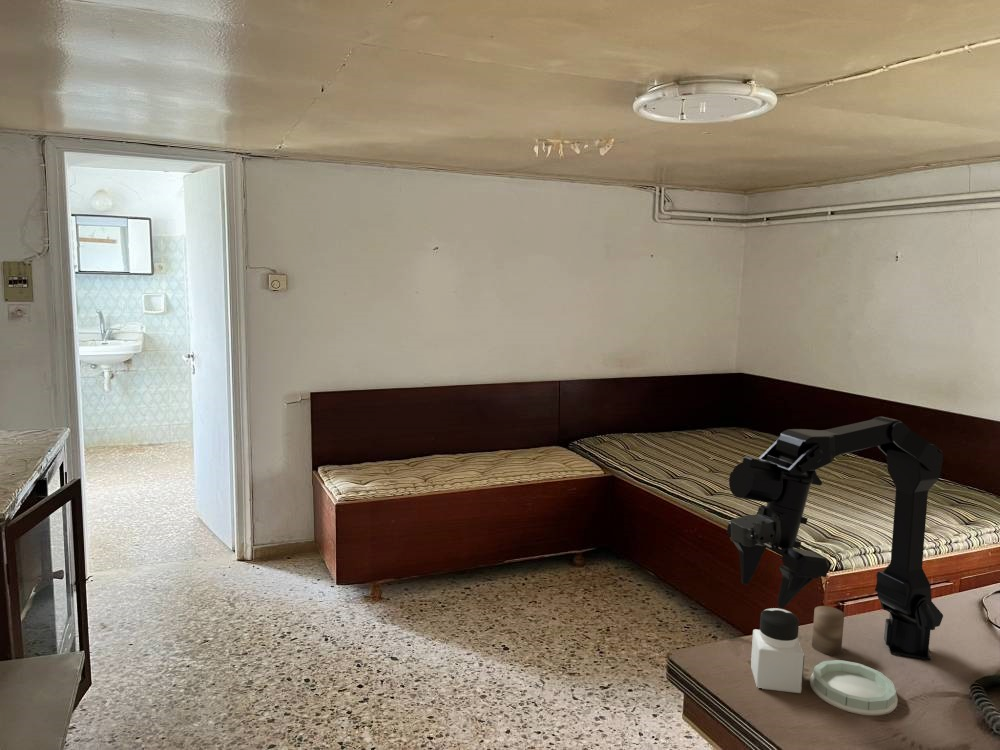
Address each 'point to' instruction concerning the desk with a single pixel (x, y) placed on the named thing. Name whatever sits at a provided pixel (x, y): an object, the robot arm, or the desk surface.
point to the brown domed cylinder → (828, 630)
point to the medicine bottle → (777, 652)
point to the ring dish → (854, 687)
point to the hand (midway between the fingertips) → (761, 595)
